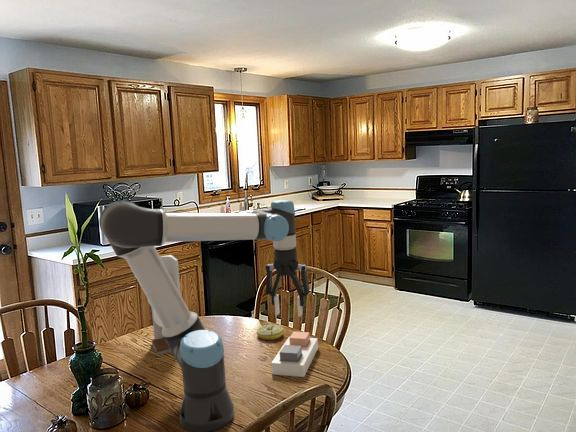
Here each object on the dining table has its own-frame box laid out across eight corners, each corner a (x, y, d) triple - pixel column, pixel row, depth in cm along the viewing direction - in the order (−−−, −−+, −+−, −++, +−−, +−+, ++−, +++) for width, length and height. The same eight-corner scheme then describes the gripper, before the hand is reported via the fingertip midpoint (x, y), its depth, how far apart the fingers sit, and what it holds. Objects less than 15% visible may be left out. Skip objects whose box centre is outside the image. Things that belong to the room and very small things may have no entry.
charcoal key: (297, 362, 150) (297, 353, 150) (280, 360, 152) (279, 352, 152) (301, 354, 156) (301, 345, 156) (285, 353, 158) (284, 344, 157)
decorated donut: (267, 329, 191) (267, 320, 191) (288, 334, 185) (288, 325, 185) (252, 338, 183) (251, 329, 182) (273, 343, 177) (272, 334, 176)
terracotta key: (306, 346, 162) (305, 338, 162) (289, 345, 164) (289, 337, 163) (309, 340, 168) (309, 332, 167) (294, 339, 169) (293, 331, 169)
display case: (152, 344, 182) (143, 258, 177) (178, 338, 186) (171, 254, 182) (157, 354, 171) (148, 264, 167) (185, 348, 176) (177, 259, 171)
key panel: (304, 377, 148) (303, 365, 148) (271, 374, 151) (271, 362, 151) (318, 348, 169) (317, 338, 169) (289, 346, 172) (289, 336, 172)
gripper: (317, 245, 150) (320, 312, 153) (259, 245, 155) (263, 309, 159) (312, 250, 143) (315, 320, 146) (252, 249, 148) (256, 317, 151)
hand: (288, 314), depth 152 cm, fingers open, 7 cm apart
